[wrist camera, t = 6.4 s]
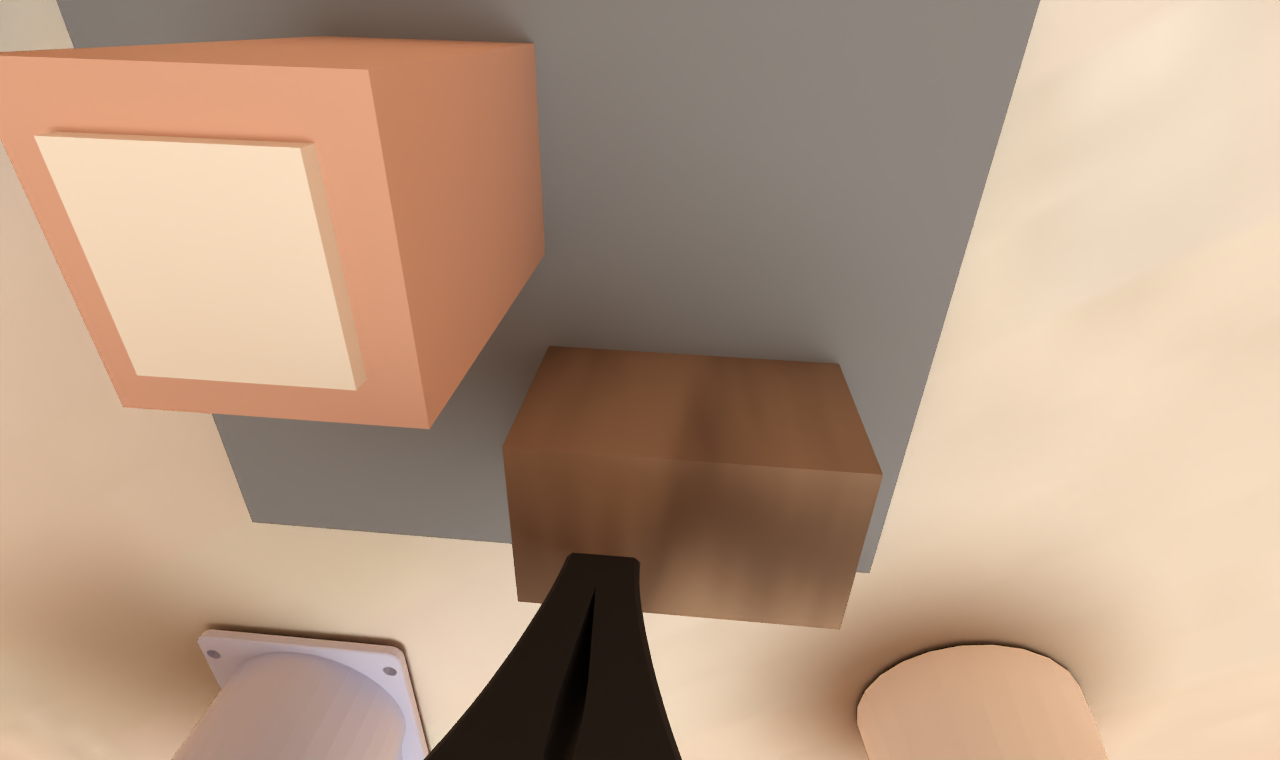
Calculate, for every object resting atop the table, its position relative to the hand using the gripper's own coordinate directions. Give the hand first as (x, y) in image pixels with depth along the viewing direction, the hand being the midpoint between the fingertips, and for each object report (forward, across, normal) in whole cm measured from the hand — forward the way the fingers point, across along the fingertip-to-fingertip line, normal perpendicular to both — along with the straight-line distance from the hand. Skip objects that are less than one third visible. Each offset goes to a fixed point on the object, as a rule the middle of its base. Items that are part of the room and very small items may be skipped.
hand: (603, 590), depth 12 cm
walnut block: (+4, +2, 0) cm, 4 cm away
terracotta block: (+6, +4, -7) cm, 10 cm away
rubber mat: (+6, +2, -3) cm, 7 cm away
